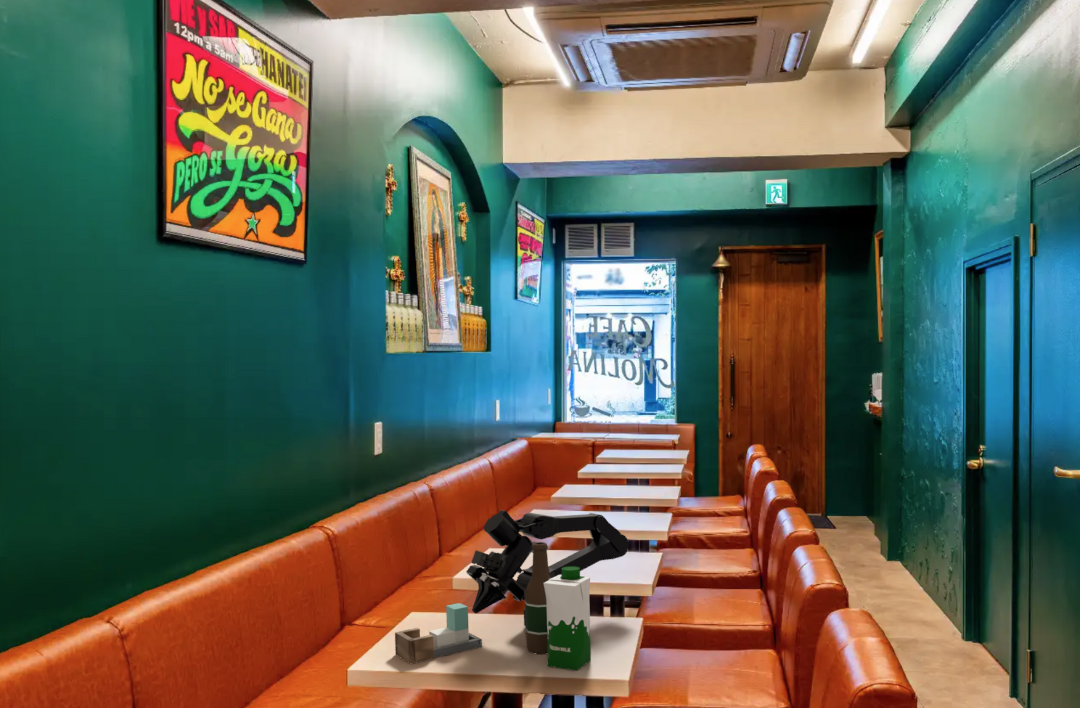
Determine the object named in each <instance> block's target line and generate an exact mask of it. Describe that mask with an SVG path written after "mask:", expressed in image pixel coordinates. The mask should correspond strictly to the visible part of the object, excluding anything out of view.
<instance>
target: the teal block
mask: <svg viewBox="0 0 1080 708" xmlns="http://www.w3.org/2000/svg"><path fill="white" fill-rule="evenodd" d="M445 608H446V609H445V611H446V612H445V613H446V627H441V628H437V629H433V630H428V631H429V634H428V635H432V636H433V648H437V647H441V646H445V645H450V644H454V643H459V642H463V641H467V640H469V633H470V632H469V606H467V605H465V604H463V603H460V602H458V603H453V604H448V605H446V607H445Z"/></svg>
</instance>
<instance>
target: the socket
mask: <svg viewBox="0 0 1080 708" xmlns="http://www.w3.org/2000/svg"><path fill="white" fill-rule="evenodd" d="M394 645H395V655H396V656H397V655H398V656H399V658H400V657H401V658H400V659H402V660H403V659H404V661H405V662H407V663H408V662H409V663H408V664H410V663H413V664H417V663H421V661H422V662H426V661H429V660H433V659H435V658H434V650H433V636H432V635H429V634H428V635H423V636H421V629H420V628H419V627H415V628H410V629H405V630H400V631H394ZM398 656H397V657H398ZM416 662H417V663H416Z"/></svg>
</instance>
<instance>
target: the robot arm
mask: <svg viewBox="0 0 1080 708" xmlns="http://www.w3.org/2000/svg"><path fill="white" fill-rule="evenodd" d="M483 531H484V532H485V533H486V534H487V535H488V536H489V537H490V538H491V539H492V540H493V541H494V542H495V543H496V544H497V545H498V546H500V547H504V546H505V547H504V549H503V551H502V552H501V553H500V552H495V551H490V552H489V554H488V553H485V552H482V551H479V550H475V551H474V553H473V556H472V559H471V564H473V565H469V567H468V568H467V570H466V572H465V573H466V574H467V575H468V576H469V577H470V578H471V579H472V580H474V582H476V583H477V585H478V586H477V587H478V590H477V594H476V596H475V600H474V602H473V605H472V609H471V612H472V613H474V614H478V613H480V612H482V611H484V610H485V609H487V608H489V607H490V606H492V605H494V604H497V603H499V602H500V601H502V600H506V599H507V596H506V594H507V593H508V592H509V593H510V594H511V595H512V599H513V600H515V601H517V602H522V601H524V602H525V591H526V588H527V585H528V583H529V582H530V580H531V578H532V569H533V564H532V565H531V566H529V567H528V568H524V569H522V566H523V564H525V562H526V560H527V559H528V557H529V556H530V555H531V554H533V549H532V544H533V543H536V541H532V540H531V539H530V538H534V539H537V540H544V539H549V538H551V537H554V536H556V535H557V534H560V533H570V532H584V531H585V532H587V531H589V535H590V536H591V538H592V541H591V542H590V544H589V545H588V546H586V547H584V548H582V549H579V550H578V551H576V552H574V553H572V554H570V555H567V556H566V557H565V558H563V559H560V560H559V561H556V562H555V563H553V564H551V565H548V569H549V576H550V579H551V578H553V577H556V576H558V575H562V568H563V567H567V566H576V567H579V568H580V572H582V571H584V570H585V569H587V568H589V567H591V566H593V565H595V564H596V563H599V562H601V561H608V560H615V559H618V558H621V557H624V556H625V555H626V554H627V553H628V550H629V546H630V545H629V540H628V537H627V536H626V535H624V534H623V533H621V532H620V531H619V530H618V529H617V528H616V527H615V526H614V525H613V524H611V523H610V522H609V521H608V520H607V518H605V516H604V515H603V514H598V513H592V512H589V513H587V514H585V513H584V514H571V515H569V514H568V515H556V516H555V515H554V516H553V515H547V514H543V513H535V512H527V513H525V514H523V515H522V517H521V518H519V519H513V518H512V517H511V516H510V514H509V513H508V511H506V510H504V509H500V510H499V512H498V513H496V514H494V515H492V516H491V517H490V518H487V520H486V522H485V523H484V527H483ZM521 533H522V534H523V535H522V534H521ZM529 537H530V538H529ZM516 574H518V575H517V578H516V580H515V578H514V577H515V576H516ZM523 626H524V627H525V608H524V609H523ZM524 632H526V627H525V628H524Z"/></svg>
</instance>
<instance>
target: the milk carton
mask: <svg viewBox="0 0 1080 708" xmlns="http://www.w3.org/2000/svg"><path fill="white" fill-rule="evenodd" d="M590 587H591V577H587V576H582V575H581V571H580V568H579V567H576V566H567V567H563V568H562V575H558V576H556V577H553V578H551V579H549V580H548V581H547V582H545V583H544V588H545V594H546V600H547V635H548V654H547V667H551V668H557V669H562V670H563V669H564V670H569V671H570V670H571V671H579V670H580V669H582V667H584V666H585V665H586V664H588V663H589V662H591V659H592V658H591V653H592V652H591V649H592V647H591V646H592V642H591V641H592V640H591V639H592V638H591V612H590V611H591V609H590V593H591V592H590Z"/></svg>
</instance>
